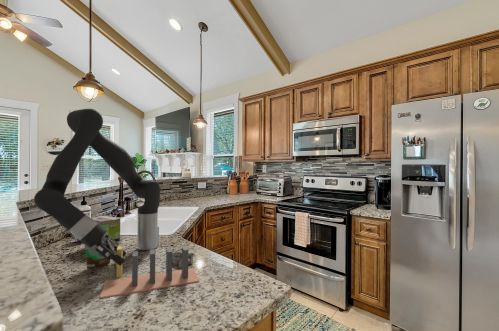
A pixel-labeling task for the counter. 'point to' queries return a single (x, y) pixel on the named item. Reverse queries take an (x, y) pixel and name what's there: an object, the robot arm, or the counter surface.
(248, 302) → the counter surface
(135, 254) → the charcoal domino
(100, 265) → the food container
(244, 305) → the counter surface
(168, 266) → the charcoal domino
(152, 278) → the charcoal domino
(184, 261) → the charcoal domino
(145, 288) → the terracotta mat
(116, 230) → the tea box
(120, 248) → the ochre domino
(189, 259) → the egg carton
